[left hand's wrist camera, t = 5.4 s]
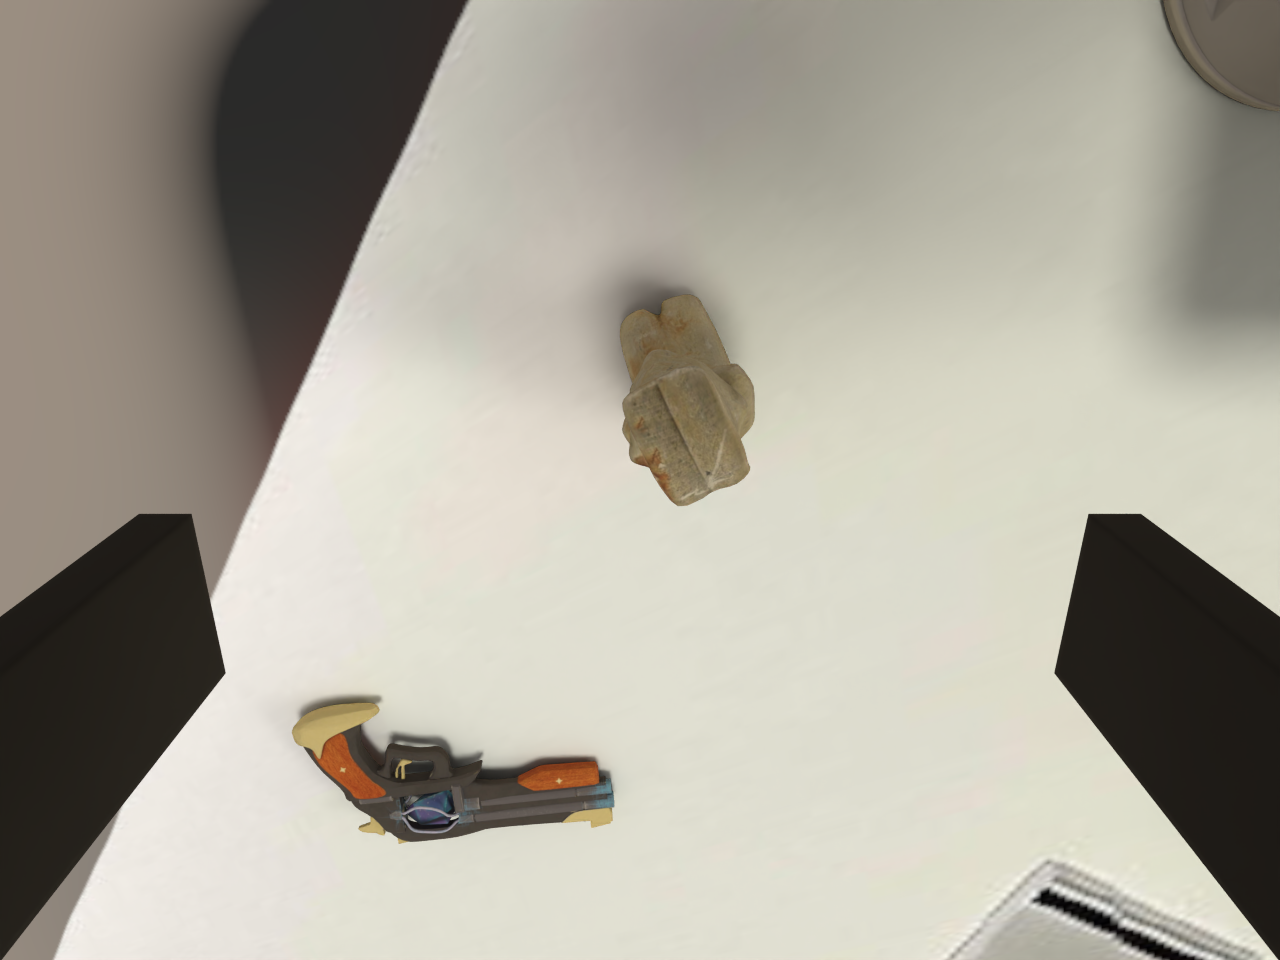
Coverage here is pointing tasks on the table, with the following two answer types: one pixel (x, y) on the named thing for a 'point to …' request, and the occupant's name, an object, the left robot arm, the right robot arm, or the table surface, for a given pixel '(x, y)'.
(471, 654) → the table surface
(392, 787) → the toy gun
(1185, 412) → the table surface
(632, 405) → the sculpture
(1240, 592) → the left robot arm
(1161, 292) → the table surface
